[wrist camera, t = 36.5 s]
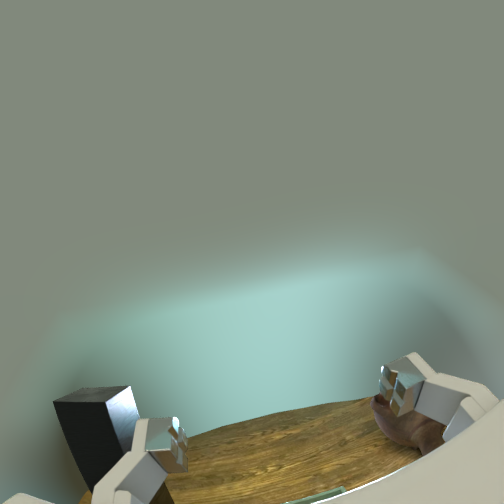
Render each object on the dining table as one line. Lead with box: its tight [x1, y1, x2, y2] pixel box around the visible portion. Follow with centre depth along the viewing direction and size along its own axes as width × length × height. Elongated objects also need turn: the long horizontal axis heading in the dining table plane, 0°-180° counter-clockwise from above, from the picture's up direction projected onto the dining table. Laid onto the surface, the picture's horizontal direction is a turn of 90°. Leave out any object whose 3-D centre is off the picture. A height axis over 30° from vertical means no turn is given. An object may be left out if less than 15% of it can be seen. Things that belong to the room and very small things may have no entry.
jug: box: [370, 392, 445, 456], centre depth 47 cm, size 20×20×30 cm
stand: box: [53, 386, 174, 504], centre depth 28 cm, size 9×9×36 cm
